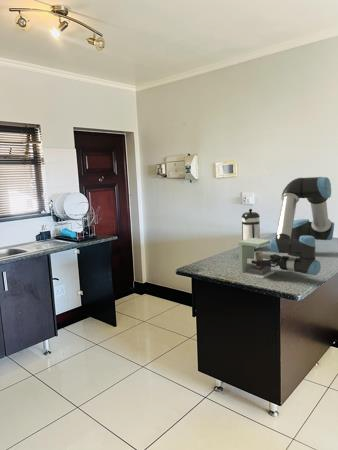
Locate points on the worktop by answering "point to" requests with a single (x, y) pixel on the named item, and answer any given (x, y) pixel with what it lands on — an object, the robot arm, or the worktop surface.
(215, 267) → the worktop surface
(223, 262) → the worktop surface
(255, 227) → the coffee press
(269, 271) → the awning socket
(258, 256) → the peg
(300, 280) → the worktop surface
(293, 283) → the worktop surface
